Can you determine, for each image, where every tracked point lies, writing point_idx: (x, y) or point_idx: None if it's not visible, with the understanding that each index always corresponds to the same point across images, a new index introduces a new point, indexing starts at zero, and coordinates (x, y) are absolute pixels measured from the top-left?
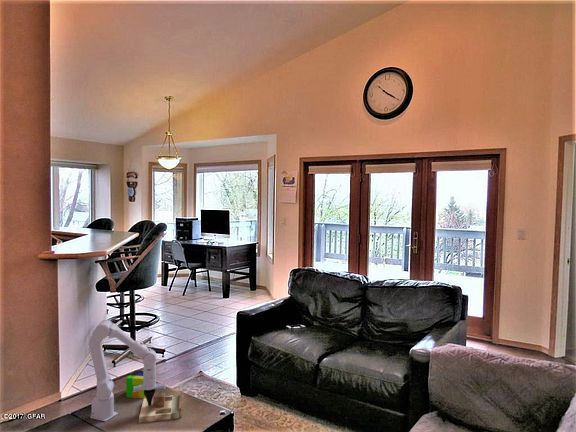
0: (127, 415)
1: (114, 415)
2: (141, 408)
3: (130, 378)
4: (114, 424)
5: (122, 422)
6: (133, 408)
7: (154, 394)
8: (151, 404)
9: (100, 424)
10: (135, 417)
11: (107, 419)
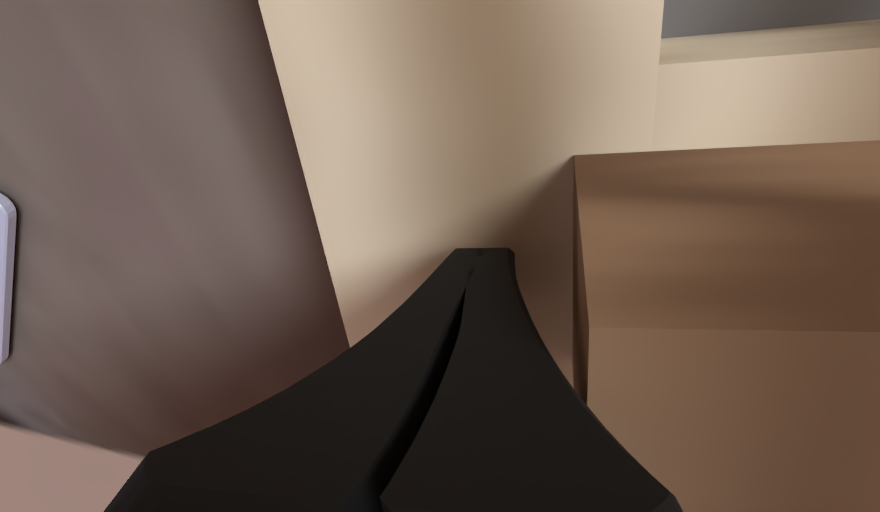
0: (180, 265)
1: (8, 264)
2: (343, 317)
3: None
4: (148, 421)
5: (212, 407)
6: (146, 32)
7: (612, 425)
8: (513, 193)
9: (2, 388)
10: (320, 339)
11: (2, 348)
